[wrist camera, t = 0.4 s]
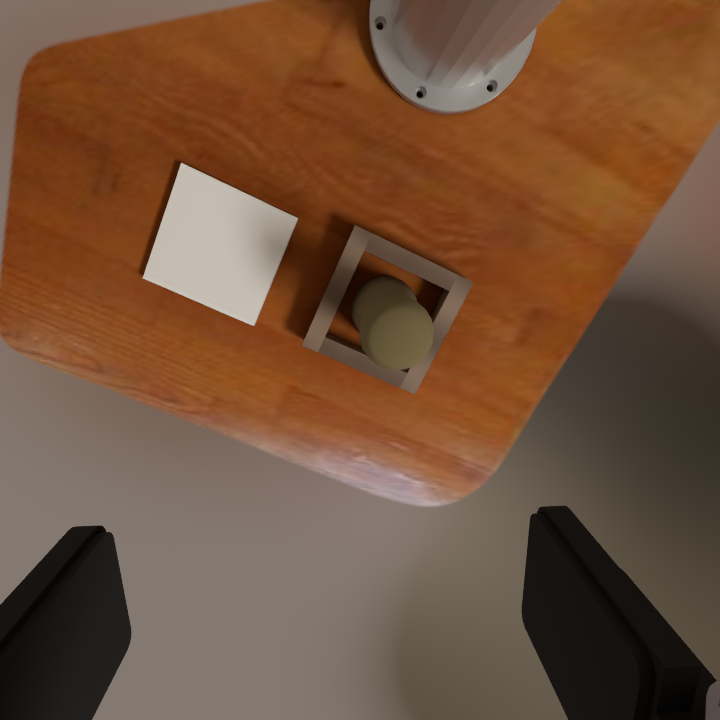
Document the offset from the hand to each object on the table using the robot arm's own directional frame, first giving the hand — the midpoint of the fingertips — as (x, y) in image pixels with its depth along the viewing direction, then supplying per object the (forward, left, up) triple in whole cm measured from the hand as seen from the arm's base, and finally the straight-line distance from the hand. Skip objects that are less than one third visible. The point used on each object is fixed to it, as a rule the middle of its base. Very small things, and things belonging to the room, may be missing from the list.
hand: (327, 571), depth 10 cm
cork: (-2, +4, -32) cm, 32 cm away
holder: (-2, +4, -32) cm, 32 cm away
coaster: (-1, -11, -32) cm, 34 cm away
